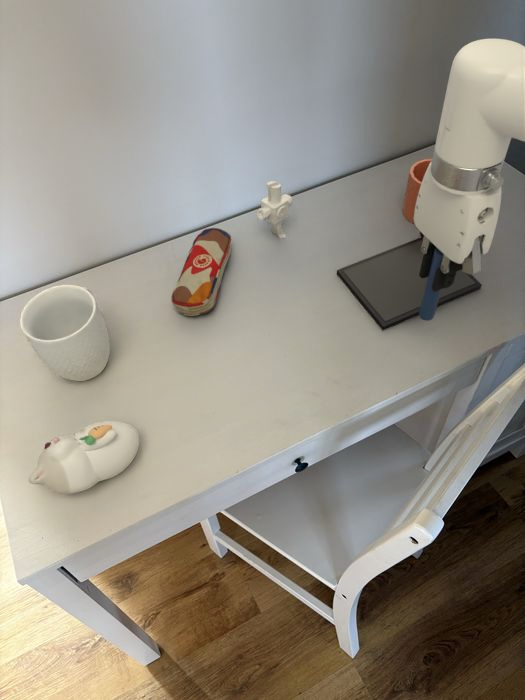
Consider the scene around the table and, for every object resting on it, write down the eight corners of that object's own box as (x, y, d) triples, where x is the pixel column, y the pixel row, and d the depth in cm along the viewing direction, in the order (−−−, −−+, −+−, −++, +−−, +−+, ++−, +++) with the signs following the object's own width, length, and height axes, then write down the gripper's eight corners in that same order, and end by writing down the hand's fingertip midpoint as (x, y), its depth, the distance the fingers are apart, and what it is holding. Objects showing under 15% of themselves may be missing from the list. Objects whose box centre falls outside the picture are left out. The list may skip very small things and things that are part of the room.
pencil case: (152, 307, 94) (145, 288, 90) (205, 238, 104) (201, 217, 100) (207, 326, 91) (203, 306, 87) (256, 252, 101) (254, 232, 97)
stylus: (427, 308, 82) (445, 242, 71) (436, 317, 80) (455, 252, 70) (415, 313, 81) (431, 248, 71) (424, 323, 80) (441, 258, 70)
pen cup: (430, 193, 109) (439, 153, 102) (457, 217, 104) (469, 178, 97) (393, 206, 107) (400, 167, 100) (419, 232, 102) (429, 192, 95)
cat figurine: (129, 403, 71) (13, 452, 66) (154, 458, 71) (39, 513, 65) (124, 410, 80) (22, 454, 74) (146, 460, 79) (44, 508, 74)
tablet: (428, 238, 101) (429, 233, 100) (480, 288, 93) (482, 284, 92) (336, 273, 97) (336, 269, 96) (382, 330, 88) (383, 326, 87)
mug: (69, 320, 93) (40, 265, 83) (131, 321, 92) (110, 266, 82) (43, 392, 84) (7, 341, 74) (111, 394, 83) (84, 342, 73)
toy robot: (254, 241, 103) (250, 188, 94) (282, 221, 106) (281, 169, 97) (268, 250, 101) (265, 198, 92) (297, 230, 104) (297, 178, 95)
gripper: (544, 191, 56) (496, 307, 71) (448, 122, 66) (423, 238, 80) (486, 214, 55) (449, 329, 69) (397, 140, 64) (380, 255, 79)
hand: (435, 279), depth 75 cm, fingers closed on stylus, 2 cm apart
